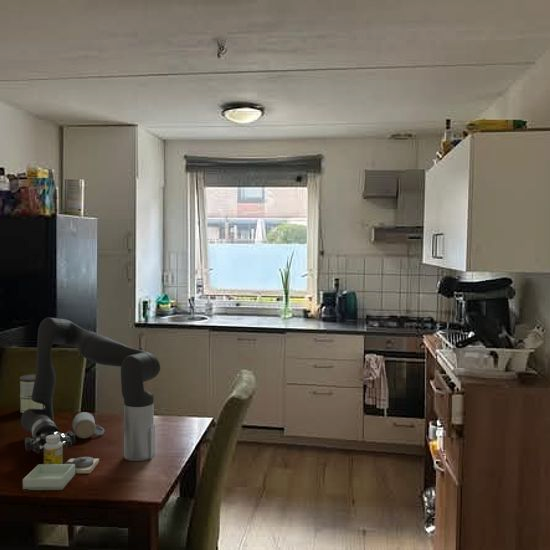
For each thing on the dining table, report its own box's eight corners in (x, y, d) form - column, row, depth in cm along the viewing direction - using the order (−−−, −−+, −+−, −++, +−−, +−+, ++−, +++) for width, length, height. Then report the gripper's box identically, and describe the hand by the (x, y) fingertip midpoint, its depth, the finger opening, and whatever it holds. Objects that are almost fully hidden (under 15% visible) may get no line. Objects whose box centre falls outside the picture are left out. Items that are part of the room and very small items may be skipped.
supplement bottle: (66, 466, 166) (66, 435, 166) (51, 472, 162) (51, 440, 161) (54, 462, 169) (54, 432, 169) (39, 468, 164) (39, 437, 164)
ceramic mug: (74, 441, 189) (74, 419, 189) (72, 433, 196) (72, 412, 196) (105, 437, 193) (106, 416, 193) (102, 430, 201) (103, 410, 200)
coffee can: (16, 409, 226) (16, 375, 226) (42, 405, 233) (42, 372, 232) (23, 415, 218) (23, 380, 218) (50, 410, 225) (50, 376, 224)
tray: (75, 474, 161) (75, 464, 160) (62, 489, 150) (62, 479, 150) (38, 474, 160) (38, 464, 160) (22, 490, 150) (22, 479, 149)
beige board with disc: (99, 461, 170) (99, 452, 170) (90, 473, 161) (90, 463, 161) (70, 461, 170) (69, 452, 170) (59, 473, 161) (59, 464, 161)
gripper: (21, 424, 174) (28, 439, 160) (68, 417, 181) (78, 431, 168) (21, 447, 174) (28, 464, 161) (68, 439, 182) (78, 455, 168)
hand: (53, 447), depth 164 cm, fingers open, 8 cm apart
